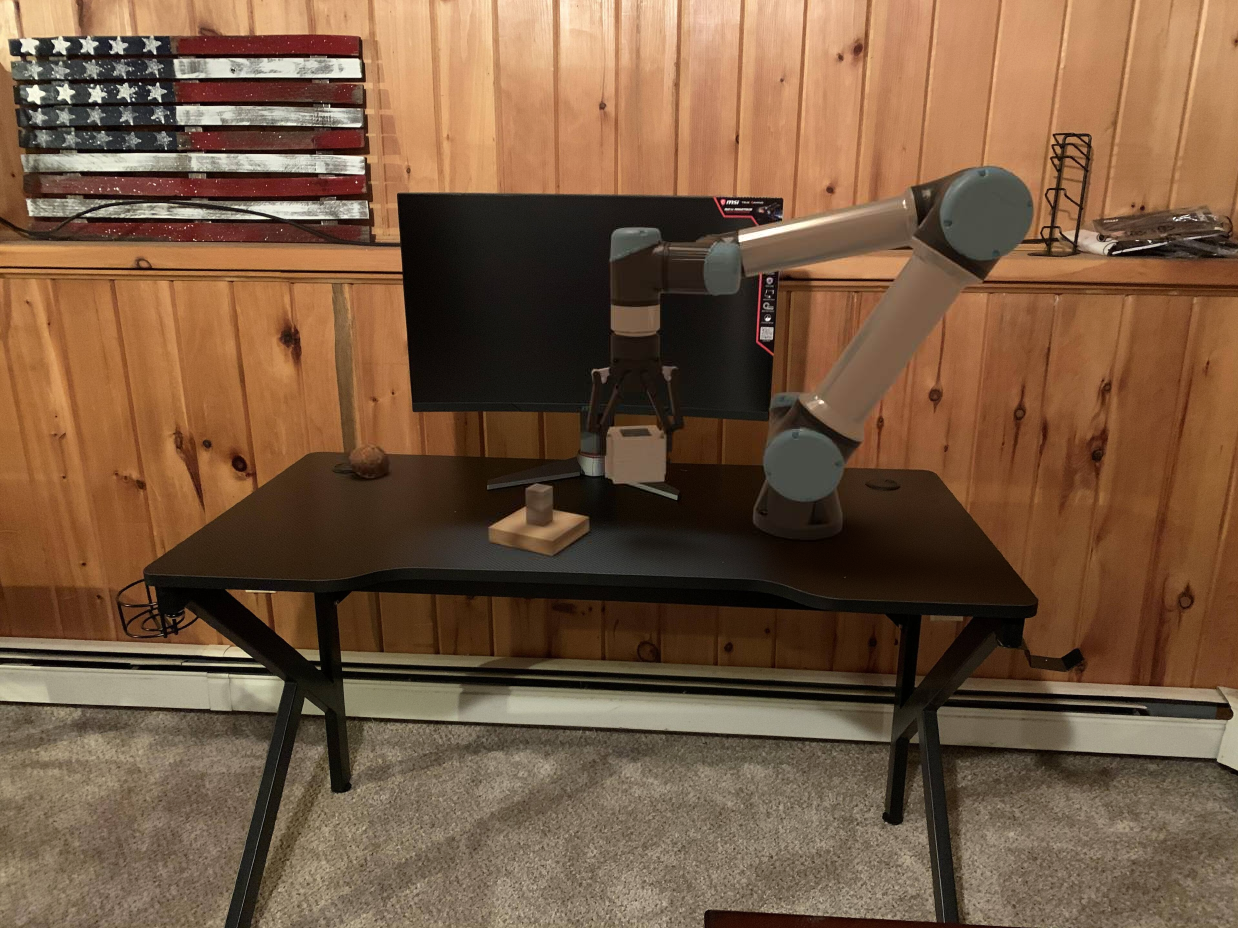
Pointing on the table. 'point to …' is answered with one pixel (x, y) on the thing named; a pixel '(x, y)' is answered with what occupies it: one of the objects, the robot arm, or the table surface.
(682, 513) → the table surface
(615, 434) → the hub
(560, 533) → the block
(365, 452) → the brown round lump
